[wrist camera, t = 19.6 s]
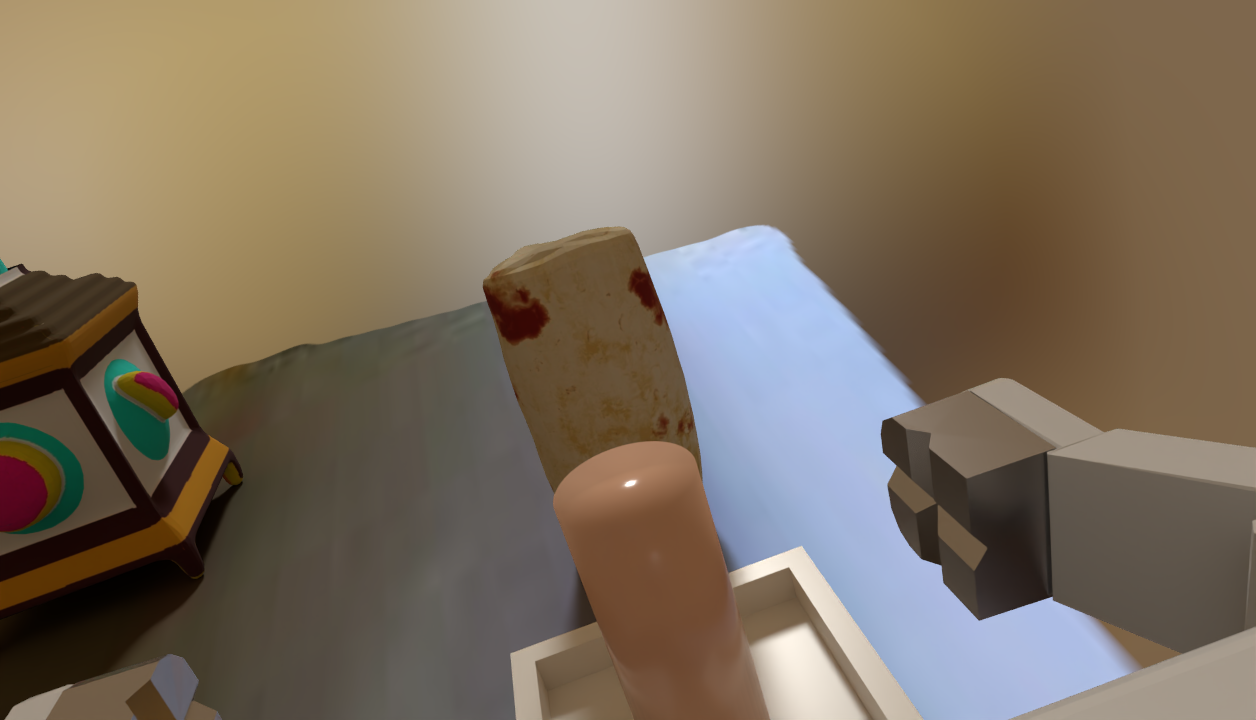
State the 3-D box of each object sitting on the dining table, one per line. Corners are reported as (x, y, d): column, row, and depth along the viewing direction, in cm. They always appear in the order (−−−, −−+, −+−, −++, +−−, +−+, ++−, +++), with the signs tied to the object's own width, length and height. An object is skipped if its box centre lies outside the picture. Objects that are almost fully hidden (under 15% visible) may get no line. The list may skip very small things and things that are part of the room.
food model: (576, 582, 49) (460, 279, 42) (573, 521, 55) (471, 247, 48) (731, 536, 49) (643, 223, 41) (710, 480, 55) (630, 198, 48)
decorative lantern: (57, 540, 77) (-145, 245, 66) (263, 465, 80) (104, 168, 68) (-53, 686, 59) (-359, 311, 47) (219, 582, 61) (-9, 203, 50)
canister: (667, 824, 33) (562, 548, 27) (640, 722, 38) (546, 471, 32) (794, 775, 33) (715, 493, 28) (750, 680, 38) (676, 426, 33)
